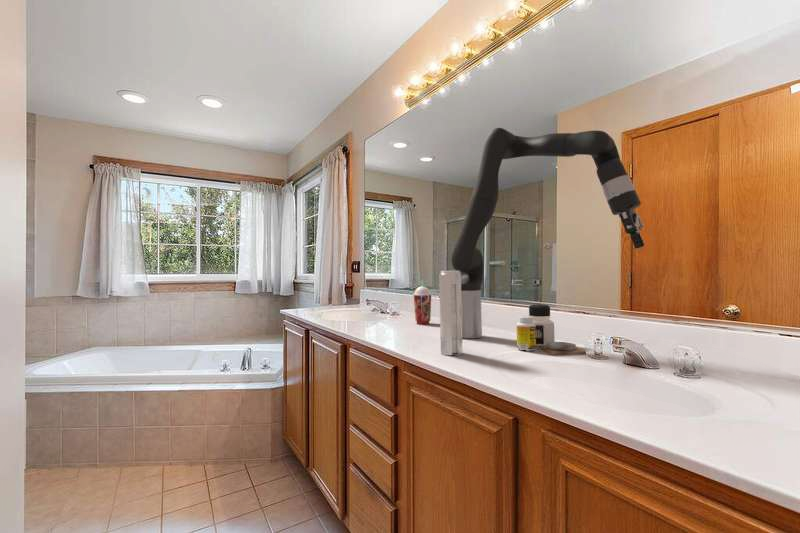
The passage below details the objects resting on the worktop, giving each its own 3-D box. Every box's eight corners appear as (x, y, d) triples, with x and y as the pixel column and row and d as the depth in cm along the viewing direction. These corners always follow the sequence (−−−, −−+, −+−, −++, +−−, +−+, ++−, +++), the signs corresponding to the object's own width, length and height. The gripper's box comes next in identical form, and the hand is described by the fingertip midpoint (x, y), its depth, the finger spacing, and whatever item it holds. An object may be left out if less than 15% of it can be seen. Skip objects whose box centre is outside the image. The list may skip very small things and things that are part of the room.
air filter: (464, 351, 119) (462, 270, 119) (460, 356, 113) (458, 270, 113) (443, 350, 122) (441, 270, 122) (438, 355, 115) (436, 270, 115)
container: (554, 346, 124) (553, 305, 124) (529, 346, 126) (528, 305, 126) (550, 342, 132) (549, 303, 132) (526, 341, 133) (525, 303, 133)
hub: (551, 355, 112) (551, 348, 112) (538, 348, 122) (538, 341, 122) (586, 354, 113) (585, 347, 113) (569, 347, 123) (569, 340, 123)
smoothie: (432, 324, 176) (431, 280, 176) (414, 325, 176) (413, 280, 176) (431, 322, 184) (430, 279, 184) (413, 322, 185) (412, 280, 185)
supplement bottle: (531, 352, 116) (530, 318, 116) (514, 350, 120) (513, 317, 120) (538, 349, 120) (538, 316, 120) (521, 347, 124) (521, 315, 124)
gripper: (613, 203, 120) (634, 252, 117) (600, 198, 109) (623, 252, 106) (639, 192, 115) (662, 243, 112) (629, 186, 105) (653, 242, 101)
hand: (643, 247), depth 109 cm, fingers open, 8 cm apart
